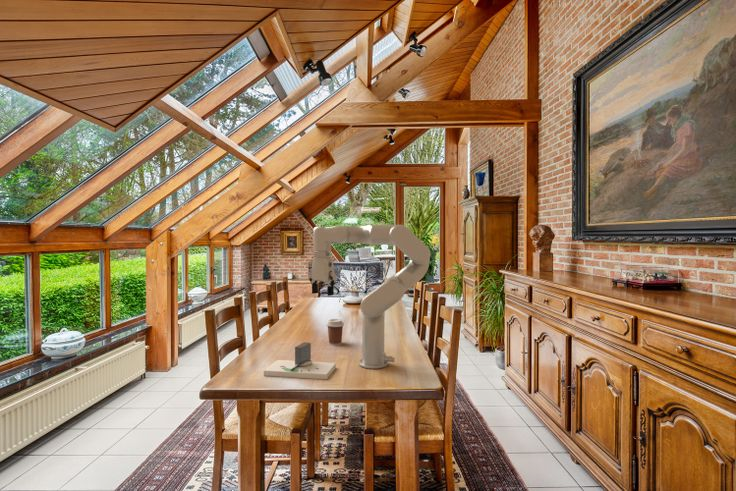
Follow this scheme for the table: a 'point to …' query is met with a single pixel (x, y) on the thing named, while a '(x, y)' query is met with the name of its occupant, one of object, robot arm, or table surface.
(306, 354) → the grey boxy piece
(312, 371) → the dial board
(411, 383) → the table surface
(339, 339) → the coffee cup
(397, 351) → the table surface
